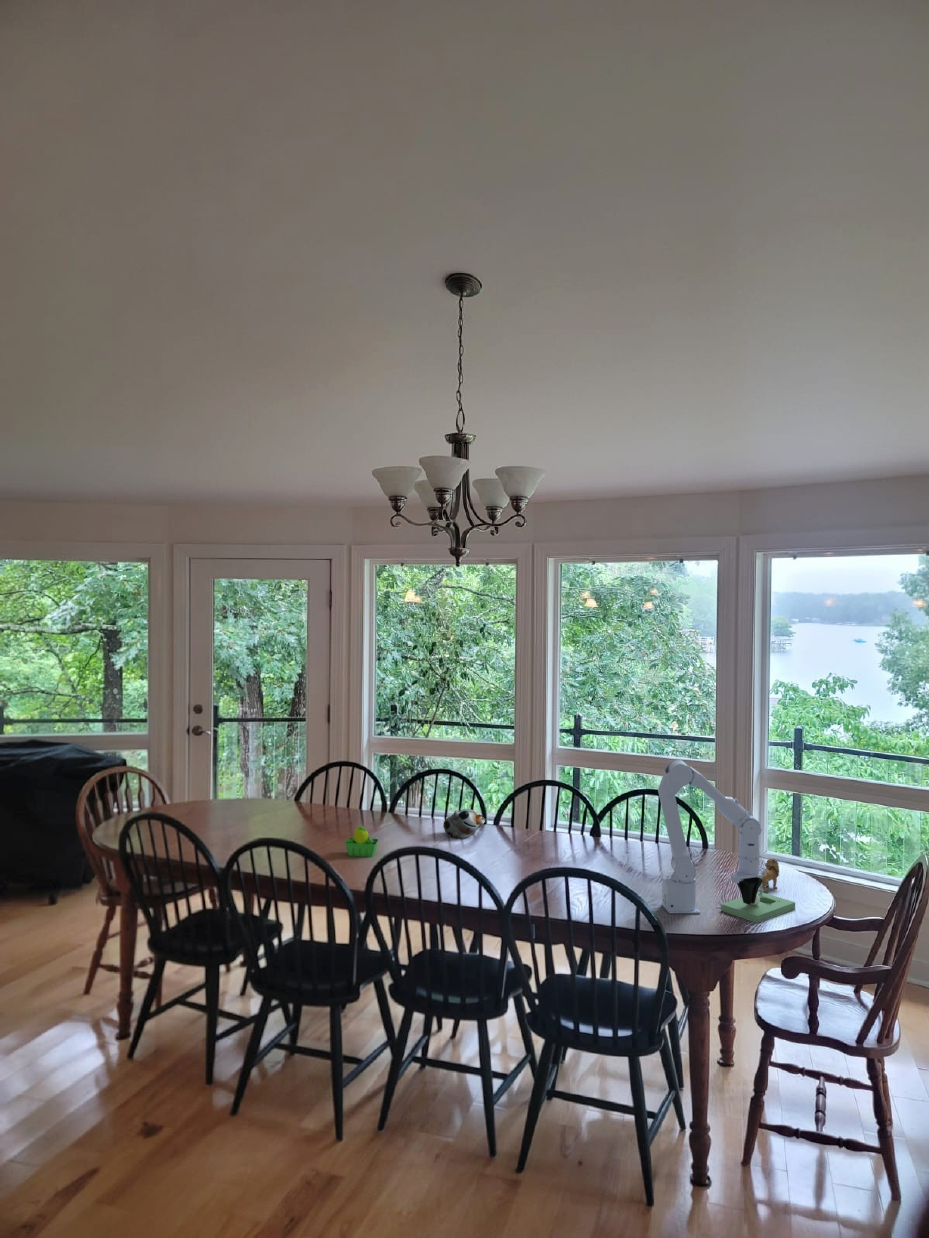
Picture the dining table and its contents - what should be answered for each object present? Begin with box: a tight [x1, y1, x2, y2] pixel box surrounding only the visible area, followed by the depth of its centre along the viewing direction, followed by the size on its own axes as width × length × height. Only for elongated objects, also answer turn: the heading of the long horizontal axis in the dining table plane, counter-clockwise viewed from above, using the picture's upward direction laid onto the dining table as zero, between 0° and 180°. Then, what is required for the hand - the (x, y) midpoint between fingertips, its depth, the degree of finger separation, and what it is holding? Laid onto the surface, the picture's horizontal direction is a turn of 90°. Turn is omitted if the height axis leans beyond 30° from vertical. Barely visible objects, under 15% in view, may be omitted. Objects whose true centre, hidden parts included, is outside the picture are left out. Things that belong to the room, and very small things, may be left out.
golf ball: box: [751, 895, 760, 905], centre depth 231 cm, size 4×4×4 cm
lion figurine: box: [762, 857, 780, 893], centre depth 252 cm, size 15×5×9 cm, turn 137°
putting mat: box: [720, 869, 796, 924], centre depth 233 cm, size 22×12×9 cm, turn 127°
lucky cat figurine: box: [442, 808, 486, 840], centre depth 314 cm, size 15×12×14 cm
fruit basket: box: [344, 825, 379, 858], centre depth 285 cm, size 11×9×11 cm
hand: (749, 902), depth 229 cm, fingers closed
